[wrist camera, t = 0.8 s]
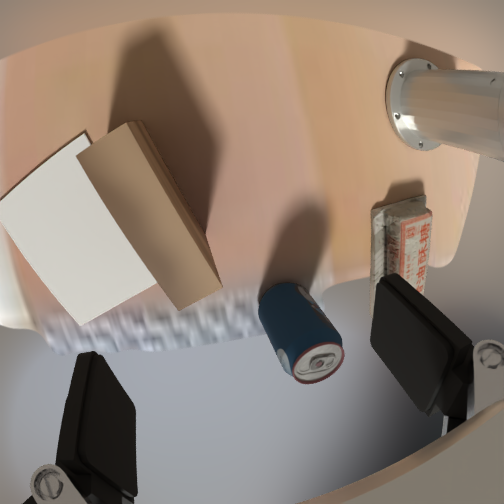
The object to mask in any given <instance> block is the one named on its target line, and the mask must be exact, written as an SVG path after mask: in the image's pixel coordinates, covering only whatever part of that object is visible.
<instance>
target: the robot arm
mask: <svg viewBox="0 0 504 504" xmlns="http://www.w3.org/2000/svg"><path fill="white" fill-rule="evenodd" d="M386 105H387V112H388V116H389V120H390V122H391V125H392V127H393V129H394V131H395V132H396V134H397V136H398V137H399V138H400V139H401V140H402V141H403V142H404V143H405V144H406V145H408V146H410V147H412V148H414V149H417V150H421V151H429V150H433V149H435V148H437V147H439V146H440V145H441V144H445V145H449V146H453V147H456V148H460V149H464V150H467V151H471V152H474V153H477V154H481V155H484V156H487V157H490V158H494V159H497V160H500V161H503V162H504V73H503V72H491V71H478V70H452V69H439V68H438V67H437V66H435V65H434V64H433V63H431V62H429V61H427V60H425V59H419V58H415V59H408V60H405V61H403V62H401V63H400V64H398V66H397V67H396V68H395V69H394V70H393V72H392V74H391V75H390V78H389V81H388V84H387V90H386ZM370 342H371V345H372V347H373V349H374V350H375V352H376V353H377V354H378V355H379V357H380V358H381V359H382V361H383V362H384V363H385V365H386V366H387V367H388V369H389V370H390V371H391V373H392V374H393V375H394V377H395V378H396V379H397V381H398V382H399V383H400V385H401V386H402V387H403V389H404V390H405V391H406V393H407V394H408V396H409V397H410V398H411V400H412V401H413V402H414V404H415V405H416V406H417V408H418V409H419V410H420V411H422V412H425V413H426V414H427V416H428V417H430V416H431V415H433V414H434V413H436V412H438V411H440V410H441V411H442V412H443V414H444V422H443V431H442V437H441V438H439V439H437V440H436V441H434V442H432V443H431V444H429V445H427V446H426V447H424V448H422V449H421V450H419V451H417V452H415V453H414V454H412V455H410V456H408V457H407V458H404V459H403V460H401V461H399V462H397V463H395V464H393V465H391V466H389V467H387V468H385V469H383V470H381V471H379V472H377V473H375V474H372V475H370V476H368V477H366V478H364V479H361V480H359V481H357V482H355V483H352V484H350V485H347V486H345V487H342V488H340V489H337V490H335V491H332V492H330V493H327V494H324V495H321V496H318V497H315V498H313V499H309V500H307V501H303V502H300V503H297V504H504V345H502V344H501V343H499V342H497V341H494V340H483V341H480V342H479V343H478V344H476V346H475V347H474V346H473V345H472V341H471V340H470V339H469V338H468V337H467V336H466V335H465V334H464V333H463V332H462V331H461V330H460V329H459V328H458V327H457V326H456V325H455V324H454V323H453V322H451V321H450V320H449V319H448V318H447V317H446V316H445V315H444V314H443V313H442V312H441V311H440V310H439V309H437V308H436V307H435V306H434V305H433V304H432V303H431V302H430V301H429V300H427V299H426V298H425V297H424V296H423V295H422V294H421V293H420V292H418V291H417V290H416V289H415V288H414V287H413V286H412V285H410V284H409V283H408V282H407V281H406V280H405V279H404V278H402V277H401V276H400V275H399V274H397V273H392V274H389V275H386V276H383V277H381V278H380V280H379V283H377V284H376V291H375V302H374V312H373V321H372V329H371V336H370ZM30 488H31V492H32V496H30V497H29V499H27V500H26V501H25V502H24V503H23V504H134V497H136V496H137V494H138V488H137V468H136V410H135V406H134V404H133V402H132V401H131V399H130V398H129V396H128V395H127V393H126V392H125V390H124V389H123V387H122V386H121V384H120V383H119V381H118V380H117V378H116V377H115V375H114V373H113V372H112V370H111V369H110V367H109V366H108V364H107V362H106V360H105V359H104V357H103V356H102V355H98V354H97V353H96V352H95V351H91V352H86V353H80V354H79V355H78V356H77V360H76V364H75V368H74V372H73V376H72V380H71V385H70V389H69V394H68V397H67V399H66V403H65V408H64V413H63V418H62V424H61V429H60V435H59V442H58V448H57V455H56V463H55V465H52V464H47V465H43V466H41V467H40V468H38V469H37V470H36V471H35V472H34V474H33V476H32V478H31V483H30Z"/></svg>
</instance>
